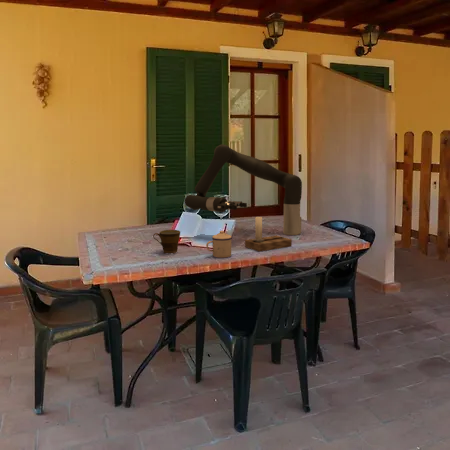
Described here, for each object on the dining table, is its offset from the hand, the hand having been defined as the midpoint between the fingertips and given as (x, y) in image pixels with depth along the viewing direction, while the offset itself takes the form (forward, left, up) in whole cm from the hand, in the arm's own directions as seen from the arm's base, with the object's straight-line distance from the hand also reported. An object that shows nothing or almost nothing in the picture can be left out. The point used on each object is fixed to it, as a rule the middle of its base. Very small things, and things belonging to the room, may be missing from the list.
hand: (241, 206), depth 235 cm
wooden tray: (-7, +13, -19) cm, 25 cm away
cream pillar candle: (-1, +13, -18) cm, 22 cm away
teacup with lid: (+23, +15, -20) cm, 34 cm away
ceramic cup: (+40, -5, -20) cm, 45 cm away
